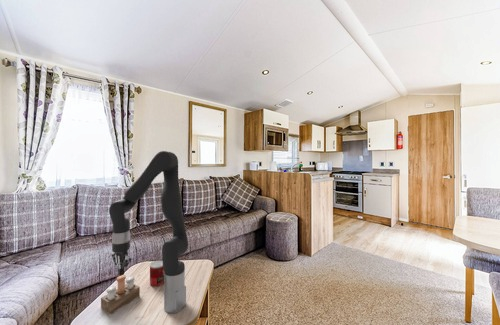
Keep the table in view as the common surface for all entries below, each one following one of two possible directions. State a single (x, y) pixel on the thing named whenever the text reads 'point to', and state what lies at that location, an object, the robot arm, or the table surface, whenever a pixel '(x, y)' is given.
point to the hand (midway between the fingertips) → (121, 274)
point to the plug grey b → (130, 283)
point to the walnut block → (120, 299)
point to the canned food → (156, 273)
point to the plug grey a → (111, 292)
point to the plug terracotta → (121, 284)
